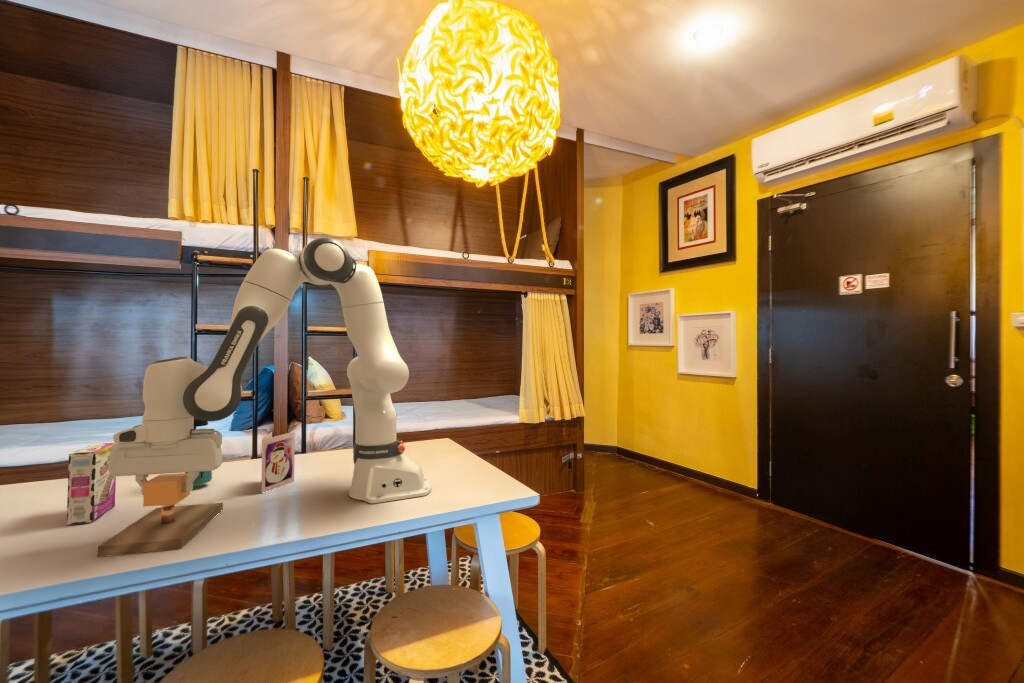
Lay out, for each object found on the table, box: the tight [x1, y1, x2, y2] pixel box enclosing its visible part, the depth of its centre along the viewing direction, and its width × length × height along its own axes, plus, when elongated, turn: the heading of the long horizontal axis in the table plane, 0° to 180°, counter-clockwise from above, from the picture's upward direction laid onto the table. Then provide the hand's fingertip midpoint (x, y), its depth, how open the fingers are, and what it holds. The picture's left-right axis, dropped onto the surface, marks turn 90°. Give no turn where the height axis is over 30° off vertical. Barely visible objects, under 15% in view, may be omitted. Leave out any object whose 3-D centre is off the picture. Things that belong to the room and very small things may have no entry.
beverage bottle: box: [184, 418, 213, 486], centre depth 121 cm, size 6×7×20 cm
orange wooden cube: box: [142, 472, 191, 508], centre depth 93 cm, size 6×6×5 cm
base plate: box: [96, 502, 224, 558], centre depth 93 cm, size 14×20×2 cm
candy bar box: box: [66, 442, 117, 526], centre depth 101 cm, size 11×5×16 cm, turn 23°
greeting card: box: [261, 431, 296, 494], centre depth 122 cm, size 11×7×15 cm, turn 163°
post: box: [161, 504, 176, 524], centre depth 93 cm, size 2×2×4 cm
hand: (167, 492), depth 93 cm, fingers closed on orange wooden cube, 6 cm apart
